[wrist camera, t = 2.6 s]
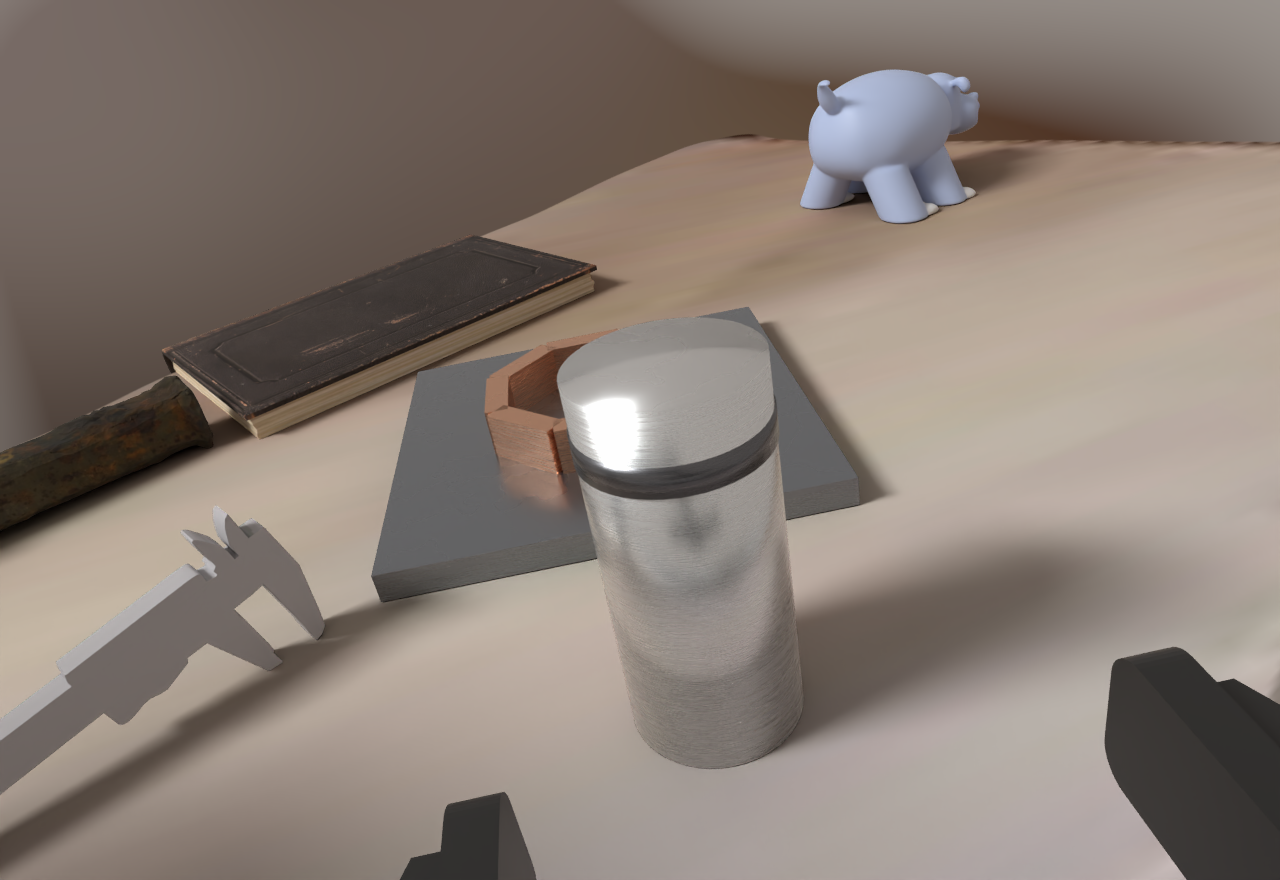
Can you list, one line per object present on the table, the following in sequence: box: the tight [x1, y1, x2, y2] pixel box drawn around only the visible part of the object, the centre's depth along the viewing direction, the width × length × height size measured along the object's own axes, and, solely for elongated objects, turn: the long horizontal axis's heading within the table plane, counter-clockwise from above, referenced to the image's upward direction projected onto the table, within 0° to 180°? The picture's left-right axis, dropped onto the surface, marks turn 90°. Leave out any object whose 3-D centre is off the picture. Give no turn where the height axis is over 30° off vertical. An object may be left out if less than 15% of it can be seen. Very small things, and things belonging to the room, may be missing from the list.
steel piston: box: [557, 317, 804, 769], centre depth 24 cm, size 5×5×11 cm
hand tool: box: [0, 376, 213, 531], centre depth 43 cm, size 19×4×5 cm, turn 133°
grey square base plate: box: [371, 307, 860, 602], centre depth 41 cm, size 18×18×3 cm
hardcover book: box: [162, 235, 597, 440], centre depth 58 cm, size 16×23×2 cm
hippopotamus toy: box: [800, 70, 979, 223], centre depth 64 cm, size 11×15×10 cm
